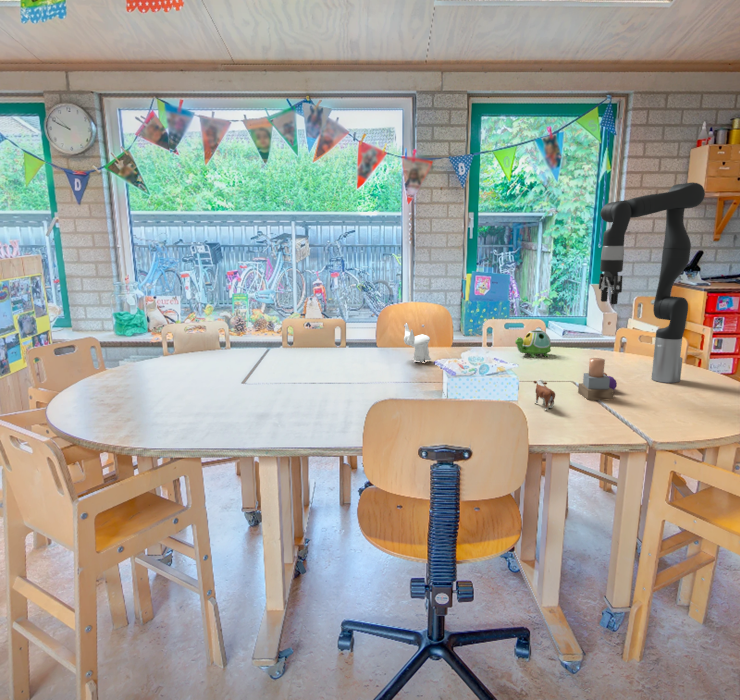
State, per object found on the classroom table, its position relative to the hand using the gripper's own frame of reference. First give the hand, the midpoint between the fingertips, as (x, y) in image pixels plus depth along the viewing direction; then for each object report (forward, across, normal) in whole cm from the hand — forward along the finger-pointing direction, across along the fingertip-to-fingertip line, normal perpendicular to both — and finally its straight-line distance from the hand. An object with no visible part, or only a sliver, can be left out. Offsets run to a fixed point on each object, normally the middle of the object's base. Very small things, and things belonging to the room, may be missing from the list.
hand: (608, 302), depth 202 cm
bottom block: (+33, -13, +8) cm, 36 cm away
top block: (+29, -13, +8) cm, 32 cm away
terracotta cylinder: (+24, -13, +8) cm, 29 cm away
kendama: (+33, 0, -1) cm, 33 cm away
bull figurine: (+32, -24, +30) cm, 50 cm away
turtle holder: (+32, +56, +10) cm, 65 cm away
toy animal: (+32, +46, +67) cm, 87 cm away
